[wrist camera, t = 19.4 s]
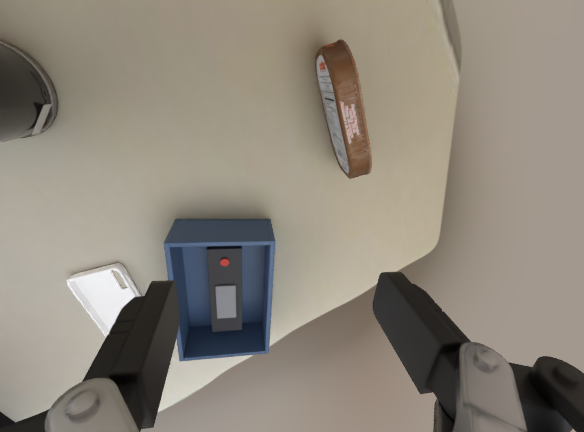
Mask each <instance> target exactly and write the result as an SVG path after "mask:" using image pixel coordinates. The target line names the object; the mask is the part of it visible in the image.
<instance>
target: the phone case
mask: <svg viewBox="0 0 584 432" xmlns="http://www.w3.org/2000/svg"><path fill="white" fill-rule="evenodd" d="M112 270H115V271H117V272H118V273H119V274H120V275H121V277H122V279H123V280H124V282H125V284H126V285H127V288H122V287H121V286H120V284H119V282H118V281H117V279H116V278H115V276H114V274H113V273H112ZM67 285H68V286H69V288H70V289H71V291H72V292H73V293H74V295H75V296H76V297H77V299H78V300H79V301H80V303H81V304H82V306H83V307H84V308H85V310H86V311H87V312H88V314H89V315H90V316H91V318H92V319H93V321H94V322H95V323H96V325H97V326H98V327H99V329H100V330H101V331H102V333H103V334H104V336H105V337H107V335H109V331H110V330H111V328H112V326H113V324H114V323H115V320H116V318H117V317H118V315H119V313H120V311H121V309H122V308H123V307H124V306H125V305H126V304H127V303H128V302H129V301H130V300H132V299H133V298H134V297H140V296H141V294H140V293H139V291H138V289H137V288H136V286H135V284H134V283H133V281H132V279H131V278H130V276H129V274H128V272H127V271H126V269H125V267H124V266H123V265H122V264H120V263H115V264H112V265H108V266H104V267H100V268H96V269H92V270H88V271H84V272H80V273H77V274H73V275H72V276H71V277H70V278H69V279H68V280H67Z"/></svg>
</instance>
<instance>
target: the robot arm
mask: <svg viewBox="0 0 584 432" xmlns="http://www.w3.org/2000/svg"><path fill="white" fill-rule="evenodd" d="M57 108H58V103H57V96H56V92H55V89H54V87H53V84H52V82H51V81H50V79H49V77H48V76H47V74H46V73H45V71H44V70H43V69H42V68H41V67H40V65H39V64H38V63H37V62H36V61H34V60H33V59H32V58H31V57H30V56H29V55H27V54H26V53H24V52H23V51H21V50H20V49H18V48H16V47H14V46H12V45H10V44H8V43H5V42H2V41H0V142H3V141H8V140H13V139H17V138H25V137H30V136H34V135H37V134H40V133H42V132H44V131H45V130H46V129H48V128H49V127H50V126H51V124H52V123H53V121H54V120H55V117H56V114H57ZM373 311H374V314H375V317H376V319H377V320H378V322H379V324H380V325H381V327H382V329H383V331H384V333H385V334H386V336H387V337H388V339H389V341H390V343H391V344H392V346H393V348H394V350H395V351H396V353H397V355H398V357H399V358H400V360H401V361H402V363H403V365H404V367H405V368H406V370H407V372H408V374H409V375H410V377H411V379H412V381H413V382H414V384H415V386H416V387H417V389H418V391H419V393H420V394H424V393H431V392H434V394H435V395H436V397H437V400H436V402H435V408H434V431H433V432H570V431H571V430H572V429H574V430H575V431H576V432H584V373H582V372H581V371H580V370H578V369H577V368H575V367H574V366H572V365H570V364H568V363H566V362H564V361H562V360H559V359H557V358H553V357H547V356H543V357H540V358H538V359H537V361H536V362H535V364H534V366H533V367H529V366H523V365H518V364H513V363H508V362H507V361H506V360H505V359H504V358H503V357H502V356H501V355H500V354H499V353H497V352H496V351H495V350H493V349H491V348H489V347H487V346H485V345H483V344H480V343H475V342H471V341H470V340H469V339H468V338H467V337H466V336H465V335H464V334H463V332H462V331H461V330H460V329H459V328H458V327H457V326H456V325H455V324H454V322H453V321H452V320H451V319H450V318H449V317H448V316H447V315H446V314H445V312H442V309H441V308H440V307H439V306H438V305H437V304H436V303H435V302H434V300H433V299H432V298H431V297H430V296H429V295H428V294H427V293H426V291H424V290H423V289H421V288H420V287H418V286H417V285H415V284H411V282H410V281H409V280H408V279H407V278H406V277H405V275H404V274H403V273H401V272H383V273H381V274H380V276H379V279H378V283H377V288H376V292H375V295H374V300H373ZM179 323H180V311H179V303H178V295H177V286H176V282H175V280H170V281H152V282H151V284H150V286H149V288H148V290H147V292H146V294H145V296H140V297H134V298H133V299H132V300H130V301H129V302H128V303H127V304H126V305H125V306H124V307H123V308H122V309H121V311H120V313H119V315H118V317H117V318H116V320H115V323H114V324H113V326H112V328H111V330H110V331H109V335H107V337H106V339H105V341H104V343H103V344H102V346H101V348H100V350H99V352H98V354H97V356H96V357H95V359H94V361H93V363H92V365H91V367H90V369H89V370H88V372H87V374H86V376H85V378H84V379H83V381H82V382H81V383H79V384H77V385H75V386H74V387H72V388H71V389H69V390H68V391H66V392H65V393H64V394H63V395H62V396H61V397H59V399H58V400H57V401H56V402H55V403H54V404H53V406H52V407H51V408H50V409H49V410H47V411H45V412H42V413H40V414H38V415H35V416H32V417H29V418H27V419H24V420H21V421H19V422H16V423H13V424H11V425H8V426H5V427H3V428H0V432H140V431H141V429H145V428H153V427H154V423H155V419H156V415H157V411H158V407H159V404H160V400H161V396H162V392H163V388H164V384H165V380H166V377H167V373H168V369H169V365H170V361H171V357H172V353H173V349H174V346H175V342H176V338H177V334H178V330H179Z"/></svg>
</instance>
